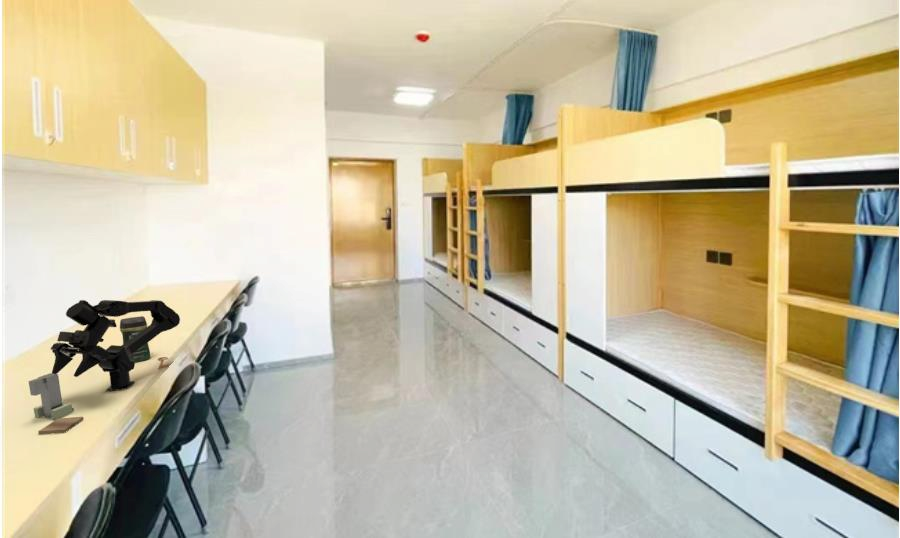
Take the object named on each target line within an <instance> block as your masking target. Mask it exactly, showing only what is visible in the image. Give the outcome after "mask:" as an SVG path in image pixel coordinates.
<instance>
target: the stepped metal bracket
mask: <svg viewBox="0 0 900 538" xmlns="http://www.w3.org/2000/svg"><path fill="white" fill-rule="evenodd" d="M28 388H29V393H30V394H29V395H30V396H33V397H34V396H39V395H40V399H41V405H42V407H43V413H44V416H43V417H44V418H48V419H52V416H51V410H53V409H55V408H58V407H60V406H63V405H64V404H63V400H62V399H63V397H62V392H61V384H60V378H59V373H57V374H52V372H51V373H49V372H48V373H47V374H44V375H41V376H38V377H37V378H34V379H32V380H28Z"/></svg>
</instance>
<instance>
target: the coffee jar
mask: <svg viewBox="0 0 900 538" xmlns="http://www.w3.org/2000/svg"><path fill="white" fill-rule="evenodd" d="M146 327H148V322H147V319H146V317H145V316H143V315H142V316H134V317H127V318H121V319H120V321H119V331H120V332H121V335H122V345H123V344H124V343H126V342H127V341H128V340H130V339H131V338H133V337H134V336H135V335H137V334H138V333H140V332H141V331H142V330H144V329H145V328H146ZM150 358H151V351H150V346H149V342H148V343H147V344H145V345H144V346H143V347H141V348H140V349H139V350H137V351H136V352H135V353H133V354H132V356H131V359H130V361H132V362H134V363H137V362H138V363H139V362H142V361H143V362H144V361H146V360H149V359H150Z"/></svg>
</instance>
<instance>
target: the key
mask: <svg viewBox="0 0 900 538" xmlns="http://www.w3.org/2000/svg"><path fill="white" fill-rule="evenodd" d="M166 360H169V357H165V356H163V357H158V359H157V361H158V362H159V361H160V362H159V363H160V364H159V366H158V369H157V370H162V369H167V368H168V367H169V366H170V364H163V363H164V361H166Z"/></svg>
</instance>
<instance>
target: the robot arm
mask: <svg viewBox="0 0 900 538" xmlns="http://www.w3.org/2000/svg"><path fill="white" fill-rule="evenodd" d="M138 312H150V316H151V318H152V320H151V323H150V325H147V327H146V328H145V329H144V330H142V331H141V332H140V333H138V334H137V335H135V336H134V337H133V338H131V339H130V340H128V341H127V342H126V343H124V344H123V343H122V344H121V345H113V344H111V345H110V346H108V347H107V348H104V347H103V346H100V345H99V343H103V342H104V338H103V337H104V336H105V334H106V333H107V331H108V329H109V328H117V325H118V324H117V323H116V320H115V319H111V317H113V318H115V317H116V318H117V317H122V316H126V315H127V314H129V313H138ZM65 316H66V317H67V318H69V319H70V320H72V321H73V322H75V323H76V324H78V325H80V326H85V328H84V329H83V330H80V329H79V330H78V329H76V330H75V331H74V332H71V331H62V330H61V331H59V334H58V337H57V340H56V341H57V342H56V343H53V345H52V346H51V347H50V350H51V351H52V353H53V354H54V357H55V358H54V363H53V366H52V371H51V374H59V372H61V370H63V369H64V368H65V367H66V366H67V365H68V364H69V363H70V362H72V361H73V360H74V358H73V357H76V356H77V355H82V357H81V358H82V359H81V361H80V363H79V364H78V366H77V368H76V370H75V372H74V374H73V377H75V378H77V377H80V376H81V375H82V374H84V373H85V372H87V371H88V370H90V369H92V368H93V367H95V366H97V365H98V367H99V368H101V370H102V371H103V372H104V373H106V372H107V373H109V382H110V386H109V387H108V388H106V391H107V390H108V391H119V390H127V389H128V388H130V387H131V386H132V385H134V384H135V383H136V381H135V380H132V381H131V378H130V372H131V370H132V371H133V370H134V369H135V365H136V362H132V361H130V359H131V356H132V354H133V353H135V352H136V351H137V350H139V349H140V348H141V347H143V346H144V345H145V344H147V343H148V344H149V342H150V341H152V340H153V339H155V338H156V337H157V336H158V335H160V334H161V333H163V332H166V331H170V330H172V329H173V328H176V327H178V325H179V324H180V321H181V318H180V315H179V314H178V313H177V312H176V310H174V309H172V308H171V307H170V306H168V305H167V304H166V303H165V302H164V301H162V300H158V299H157V300H155V299H153V300H152V299H151V300H146V301H144V300H143V301H141V300H140V301H125V300H112V299H111V300H109V299H108V300H107V299H103V300H100V301H99V303H98V304H95V305H92V304H91V303H89V302H88V301H87V300H84V299H81V300H79V301H78V302H77V303H75V304H73V305H72V306H71V307H68V309H67V310H66V312H65ZM109 317H110V318H109ZM108 391H107V392H108Z"/></svg>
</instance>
